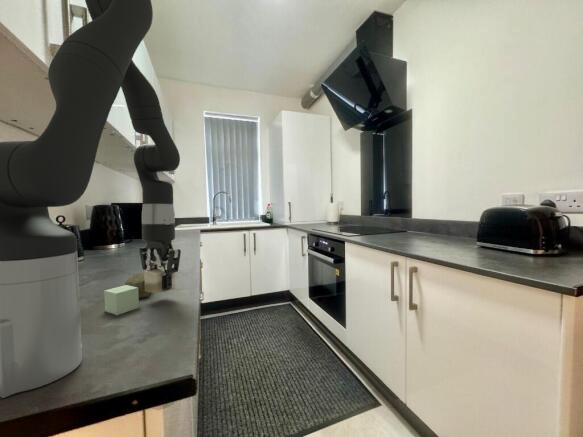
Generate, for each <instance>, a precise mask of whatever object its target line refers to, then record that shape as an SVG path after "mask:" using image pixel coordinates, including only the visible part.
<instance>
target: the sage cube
mask: <svg viewBox="0 0 583 437" xmlns="http://www.w3.org/2000/svg"><path fill="white" fill-rule="evenodd" d="M103 293H104V312H106V313H109V314H112V315H115V316H119V315H122V314H125V313H127V312H131V311H133V310H136V309H139V307H140V306H139V304H140V303H139V302H140V301H139V300H140V298H139V296H138V287H133V286H129V285H125V284H124V285H121V286H117V287H113V288H109V289H106V290H104V291H103Z"/></svg>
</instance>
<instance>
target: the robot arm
mask: <svg viewBox="0 0 583 437" xmlns="http://www.w3.org/2000/svg"><path fill="white" fill-rule="evenodd" d="M85 4H86V8H87V10H88V13H89V16H90V19H91V21H90V22H88V23H85V25H83V26H81V27H79V28H77V29H76V30H75V31H73V33H71V34H70V35H69V36H67V37H66V38H65V40H64V41H63V42H62V43H61V45H60V47H59V48H58V50H57V51H56V53H55V55H54V56H53V58H52V60H51V62H50V63H49V65H48V66H49V67H48V72H47V77H48V82H49V86H50V90H51V93H52V96H53V98H54V101H55V106H56V107H55V111H54V113H53V115H52V117H51V119H50V121H49V123H48V125H47V126H46V128H45V129H44V131H43V132H42V133H41V135H39V136H38V137H37V138H36V139H35V140H17V141H12V140H11V141H0V398H1V399H4V398H8V397H9V396H12V395H14V394H17V393H22V392H26V391H30V390H33V389H37V388H41V387H43V386H46V385H48V384H51V383H53V382H56V381H57V380H60V379H61V378H63V377H65V376H67V375H69V374H70V373H71V372H73V371H74V370H76V369H77V368H78V367H79V365H81V363H82V361H83V353H82V352H83V351H82V350H83V345H82V330H81V329H82V328H81V327H82V326H81V306H80V305H81V304H80V284H79V280H80V279H79V260H78V258H79V257H78V240H77V236H76V235H75V233H74V232H72V231H69V230H67V229H65V228H62V227H61V226H59V225H58V224H56V223H55V222H53V220H52V219H51V217H50V213H49V208H58V207H60V208H61V207H65V206H69V205H71V204H74V203H75V202H77V201H79V200H80V199H81V198H82V196H83V195H84V193H85V192H86V190H87V188H88V185H89V182H90V181H91V177H92V173H93V169H94V166H95V161H96V156H97V152H98V148H99V144H100V141H101V137H102V136H103V135H102V134H103V132H104V129H105V125H106V123H107V120H108V118H109V115H110V112H111V109H112V107H113V105H114V104H115V101H116V99H117V98H118V94H119V91H120V89H121V91H122V94H123V96H124V100H125V105H126V107H127V111H128V115H129V117H130V120H131V125H132V127H133V130H134V131H135V132H136V133H137V134H141V135H146V136H149V138H150V139H151V140H152V142H153V143H144V144H140V145H139V146H137V147H136V149H135V151H134V152H133V153H134V154H133V164H134V167H135V170H136V172H137V176H138V179H139V182H140V185H141V188H142V194H141V195H142V210H141V238H142V239H141V240H142V241H143V242H146V246H143V247H139V257H140V262H141V268H142V270H143V271H149V270H154V269H159V268H161V272H162V275H163V276H162V290H169V289H171V288H172V274H173V273H177V272H179V266H180V260H181V251H182V250H181V249H179V248H177V249H175V248H173V244H172V242H173V241H174V240H175V239H176V220H175V219H176V215H175V214H176V212H175V207H174V206H175V205H174V186H173V185H172V184H173V183H171V182H169V181H166V180H160V178H159V176H158V173H159V172H161V173H162V172H174V171H175V170H177V168H178V167H179V166H180V163H181V162H180V161H181V157H180V156H181V155H180V151H179V150H178V148H177V145H176V143H175V142H174V140H173V138H172V135H171V134H170V132H169V130H168V127H167V125H166V124H165V121H164V116H163V115H164V114H163V112H162V108H161V105H160V104H161V102H160V100H159V97H158V94H157V92H156V90H155V89H154V87H153V85H152V84H151V82H150V81H149V80H148V79H147V77H146V76H145V74H143V72H142V71H141V70H140V68H139V67H138V66H137V65H136V63H135V62H134V60H133V57H134V55H135V53H136V51H137V50H138V48H139V46H140V44H141V43H142V41H143V40H144V38H145V37H146V35H147V34H148V32H149V31H150V29H151V27H152V24H153V19H154V17H153V14H154V13H153V12H154V10H153V6H152V5H153V4H152V0H85ZM166 268H167V270H166ZM169 291H170V290H169Z"/></svg>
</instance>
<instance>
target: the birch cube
mask: <svg viewBox="0 0 583 437" xmlns="http://www.w3.org/2000/svg"><path fill="white" fill-rule="evenodd" d="M165 268H166V270H167V267H165ZM143 271H144V272H143V273H144V277H145V291H147V292H150V293H152V294H156V295H157V294H162V293H165V292H168V291H171V290H175V289H176V288H175V287H176V279H175V278H176V277H175V276H176V275H175V273H176V272H175V273H173V274H172V288H171V289H169V290H162V276H163V275H162V272H161V268H160V267H158V269H154V270H149V271H146V270H143Z"/></svg>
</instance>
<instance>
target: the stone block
mask: <svg viewBox="0 0 583 437" xmlns="http://www.w3.org/2000/svg"><path fill="white" fill-rule="evenodd" d="M124 285H129V286H133V287H138V296H139V299H143V298H148V297H149V296H150V293H151V292H147V291H145V277H144V272H142V273H139V272H138V273H133V274H131V275H130V276H129V277H128V279H127V280H125V282H124Z"/></svg>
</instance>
